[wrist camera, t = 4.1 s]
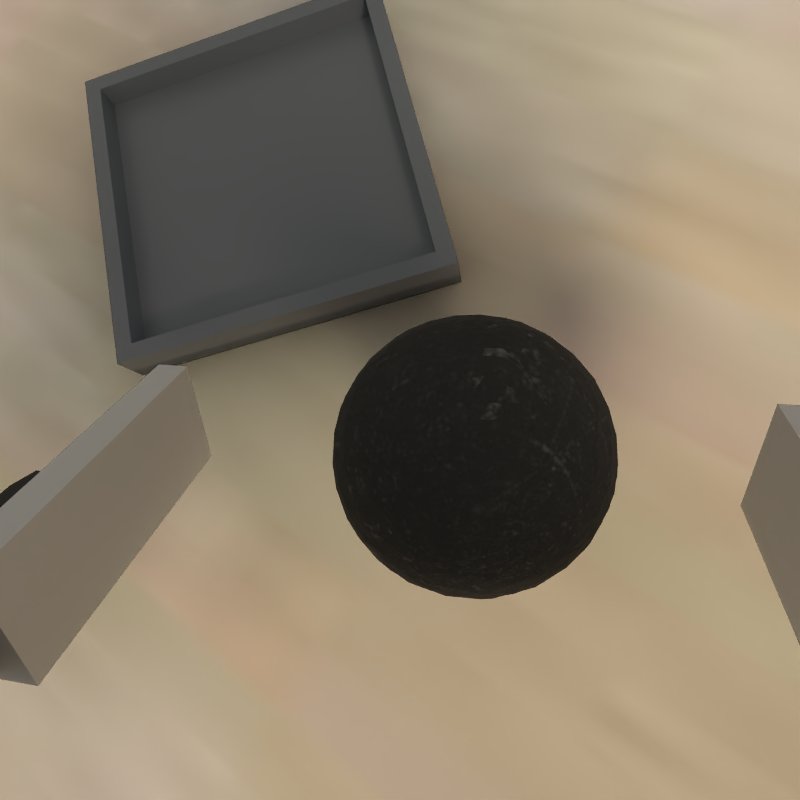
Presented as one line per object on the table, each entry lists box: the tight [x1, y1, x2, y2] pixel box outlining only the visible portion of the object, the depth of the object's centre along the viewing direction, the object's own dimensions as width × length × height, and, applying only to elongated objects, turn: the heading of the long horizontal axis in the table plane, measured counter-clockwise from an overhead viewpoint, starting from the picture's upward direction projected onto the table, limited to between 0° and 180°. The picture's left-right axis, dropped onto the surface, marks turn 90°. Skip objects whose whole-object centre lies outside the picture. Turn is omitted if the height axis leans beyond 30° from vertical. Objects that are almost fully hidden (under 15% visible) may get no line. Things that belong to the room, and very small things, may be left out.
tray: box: [85, 0, 461, 375], centre depth 22 cm, size 12×12×2 cm
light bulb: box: [333, 315, 618, 599], centre depth 14 cm, size 6×6×10 cm
